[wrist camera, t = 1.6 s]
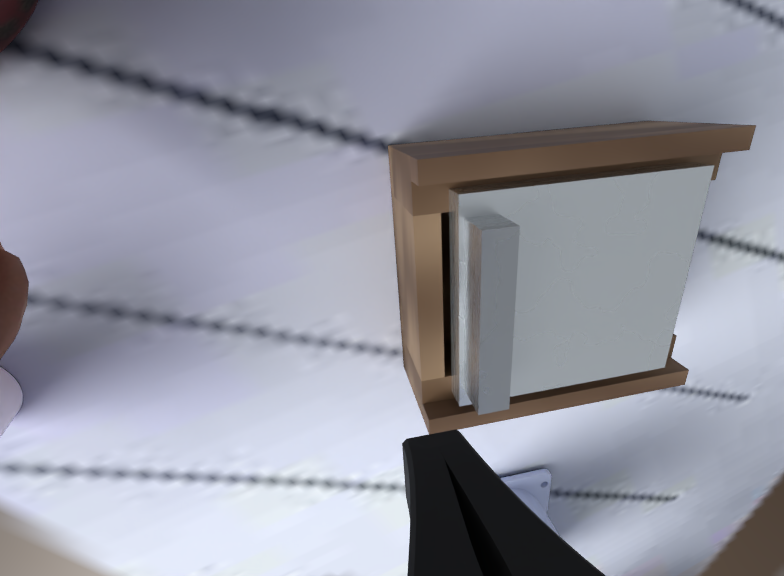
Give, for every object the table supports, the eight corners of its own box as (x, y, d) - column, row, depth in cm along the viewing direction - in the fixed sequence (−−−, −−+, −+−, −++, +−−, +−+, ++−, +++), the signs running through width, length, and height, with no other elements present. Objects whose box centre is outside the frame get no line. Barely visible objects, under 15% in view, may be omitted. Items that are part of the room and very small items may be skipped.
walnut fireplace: (611, 330, 23) (684, 384, 19) (403, 366, 22) (429, 434, 17) (647, 120, 19) (756, 125, 14) (387, 145, 17) (417, 159, 13)
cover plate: (647, 355, 19) (693, 388, 17) (451, 391, 18) (473, 432, 15) (690, 161, 15) (755, 171, 13) (448, 189, 14) (475, 204, 12)
